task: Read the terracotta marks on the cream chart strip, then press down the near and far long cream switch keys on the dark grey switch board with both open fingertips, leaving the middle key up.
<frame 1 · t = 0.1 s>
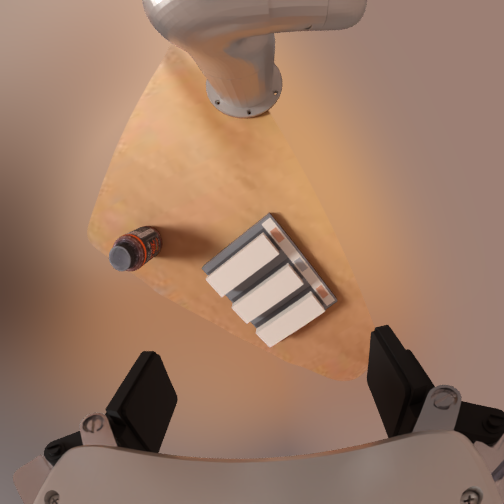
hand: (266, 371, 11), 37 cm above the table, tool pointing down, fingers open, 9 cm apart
supplement bottle: (149, 240, 48), on the table
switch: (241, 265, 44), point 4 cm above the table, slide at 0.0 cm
switch board: (271, 282, 49), on the table
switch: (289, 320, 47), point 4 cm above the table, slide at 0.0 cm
middle switch: (266, 294, 46), point 4 cm above the table, slide at 0.0 cm
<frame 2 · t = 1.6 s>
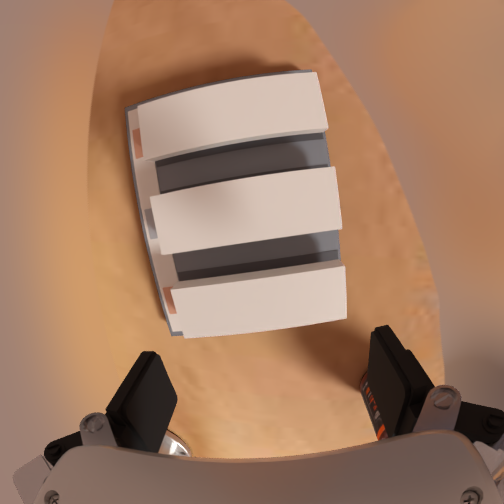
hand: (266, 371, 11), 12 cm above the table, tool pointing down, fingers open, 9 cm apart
supplement bottle: (382, 376, 25), on the table
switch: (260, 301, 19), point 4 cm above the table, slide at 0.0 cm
switch board: (235, 206, 21), on the table
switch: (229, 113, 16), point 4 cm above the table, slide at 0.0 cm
middle switch: (245, 209, 18), point 4 cm above the table, slide at 0.0 cm
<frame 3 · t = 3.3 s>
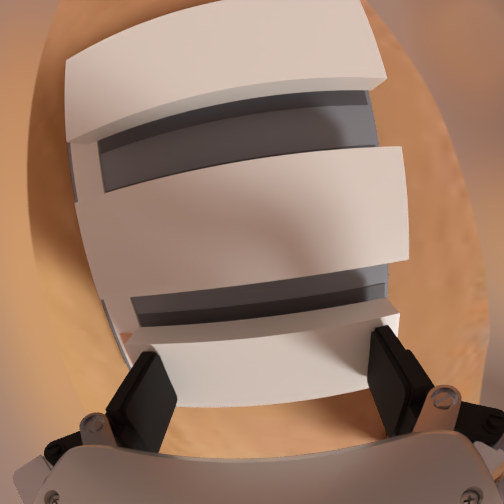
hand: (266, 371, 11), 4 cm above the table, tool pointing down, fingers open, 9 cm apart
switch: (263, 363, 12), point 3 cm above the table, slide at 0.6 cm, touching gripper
switch board: (224, 213, 13), on the table
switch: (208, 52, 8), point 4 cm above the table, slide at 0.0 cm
middle switch: (236, 222, 10), point 4 cm above the table, slide at 0.0 cm
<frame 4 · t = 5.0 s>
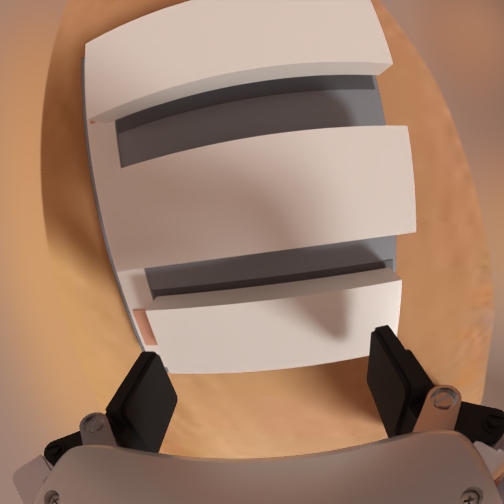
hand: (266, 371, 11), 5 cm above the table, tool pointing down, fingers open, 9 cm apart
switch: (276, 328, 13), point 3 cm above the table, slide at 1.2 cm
switch board: (238, 190, 14), on the table
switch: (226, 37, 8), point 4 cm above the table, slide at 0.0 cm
middle switch: (253, 194, 10), point 4 cm above the table, slide at 0.0 cm
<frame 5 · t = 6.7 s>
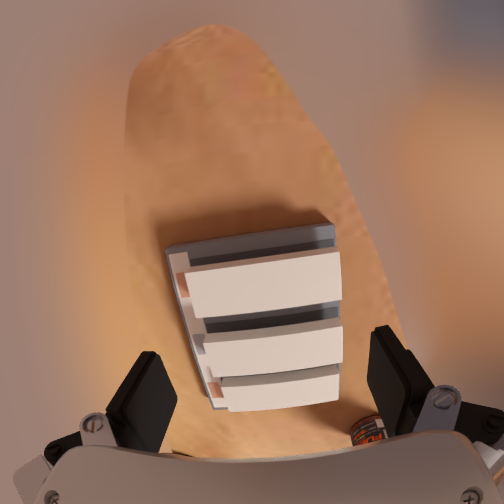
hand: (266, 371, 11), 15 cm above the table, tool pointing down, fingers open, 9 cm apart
supplement bottle: (368, 425, 31), on the table
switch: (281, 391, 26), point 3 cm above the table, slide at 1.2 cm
switch board: (264, 330, 27), on the table
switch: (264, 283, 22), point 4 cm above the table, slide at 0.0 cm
middle switch: (274, 350, 23), point 4 cm above the table, slide at 0.0 cm
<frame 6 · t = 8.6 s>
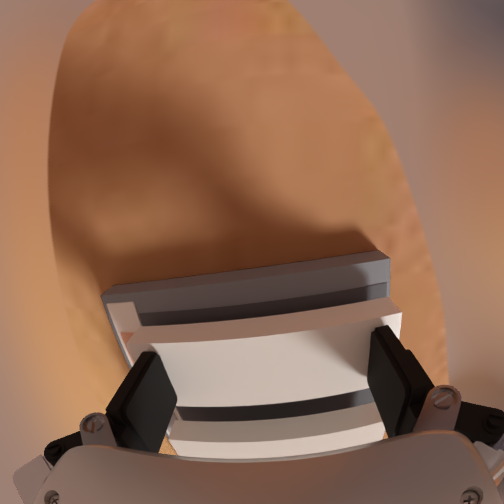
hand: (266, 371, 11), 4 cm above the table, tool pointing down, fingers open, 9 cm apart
switch board: (263, 406, 17), on the table
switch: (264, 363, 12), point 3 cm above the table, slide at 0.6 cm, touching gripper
middle switch: (279, 447, 13), point 4 cm above the table, slide at 0.0 cm
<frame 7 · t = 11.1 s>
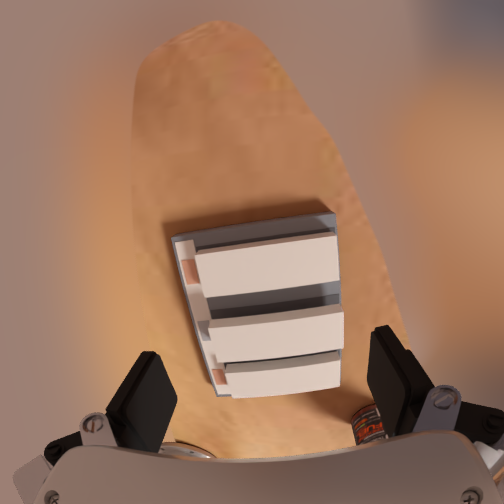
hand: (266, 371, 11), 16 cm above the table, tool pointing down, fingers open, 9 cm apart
supplement bottle: (368, 414, 32), on the table
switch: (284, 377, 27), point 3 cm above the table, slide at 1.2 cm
switch board: (267, 317, 28), on the table
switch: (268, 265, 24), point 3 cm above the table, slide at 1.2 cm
middle switch: (277, 335, 24), point 4 cm above the table, slide at 0.0 cm
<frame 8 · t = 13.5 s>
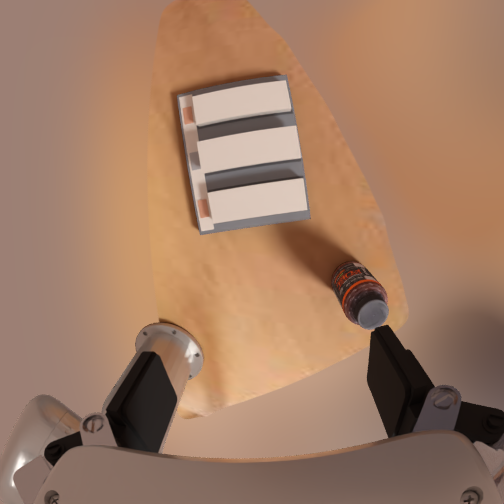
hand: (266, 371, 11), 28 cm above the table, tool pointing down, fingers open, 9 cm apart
supplement bottle: (348, 278, 39), on the table
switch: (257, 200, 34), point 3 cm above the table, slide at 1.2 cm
switch board: (243, 152, 35), on the table
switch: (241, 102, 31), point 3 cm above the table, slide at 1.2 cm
middle switch: (248, 149, 31), point 4 cm above the table, slide at 0.0 cm
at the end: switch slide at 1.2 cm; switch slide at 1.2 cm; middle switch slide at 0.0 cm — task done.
